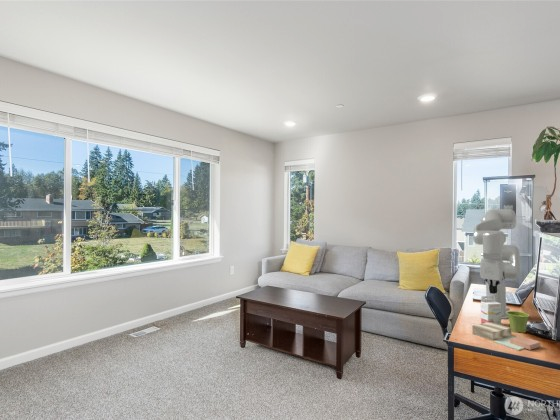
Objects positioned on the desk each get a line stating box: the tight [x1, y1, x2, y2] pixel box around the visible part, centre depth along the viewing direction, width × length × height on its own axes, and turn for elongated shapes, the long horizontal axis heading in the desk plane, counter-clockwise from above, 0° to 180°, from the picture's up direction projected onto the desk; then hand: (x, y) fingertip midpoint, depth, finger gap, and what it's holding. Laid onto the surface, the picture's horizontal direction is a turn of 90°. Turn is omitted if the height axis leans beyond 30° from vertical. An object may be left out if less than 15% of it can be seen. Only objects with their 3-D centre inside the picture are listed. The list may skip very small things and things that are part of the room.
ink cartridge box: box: [480, 295, 502, 325], centre depth 167 cm, size 9×5×15 cm, turn 102°
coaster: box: [510, 335, 541, 351], centre depth 139 cm, size 8×8×2 cm
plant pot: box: [506, 310, 530, 333], centre depth 157 cm, size 9×9×9 cm
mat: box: [492, 335, 526, 351], centre depth 142 cm, size 16×10×1 cm, turn 114°
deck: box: [471, 322, 513, 342], centre depth 152 cm, size 14×10×4 cm
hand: (493, 293), depth 155 cm, fingers closed
